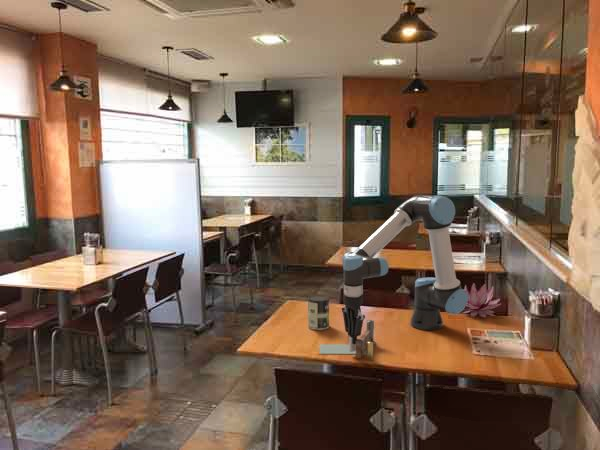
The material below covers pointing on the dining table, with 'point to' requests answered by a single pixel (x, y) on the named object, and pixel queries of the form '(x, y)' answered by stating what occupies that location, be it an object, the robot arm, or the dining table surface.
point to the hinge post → (371, 327)
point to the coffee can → (318, 312)
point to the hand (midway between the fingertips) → (352, 350)
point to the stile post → (369, 350)
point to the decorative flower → (480, 301)
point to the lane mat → (335, 349)
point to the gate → (362, 343)
